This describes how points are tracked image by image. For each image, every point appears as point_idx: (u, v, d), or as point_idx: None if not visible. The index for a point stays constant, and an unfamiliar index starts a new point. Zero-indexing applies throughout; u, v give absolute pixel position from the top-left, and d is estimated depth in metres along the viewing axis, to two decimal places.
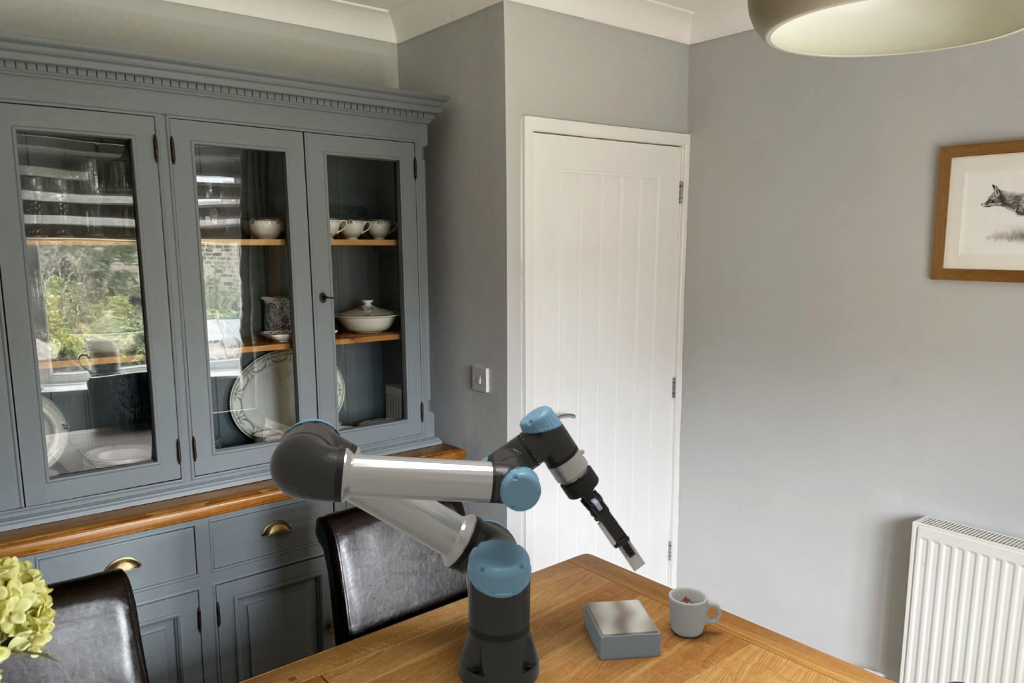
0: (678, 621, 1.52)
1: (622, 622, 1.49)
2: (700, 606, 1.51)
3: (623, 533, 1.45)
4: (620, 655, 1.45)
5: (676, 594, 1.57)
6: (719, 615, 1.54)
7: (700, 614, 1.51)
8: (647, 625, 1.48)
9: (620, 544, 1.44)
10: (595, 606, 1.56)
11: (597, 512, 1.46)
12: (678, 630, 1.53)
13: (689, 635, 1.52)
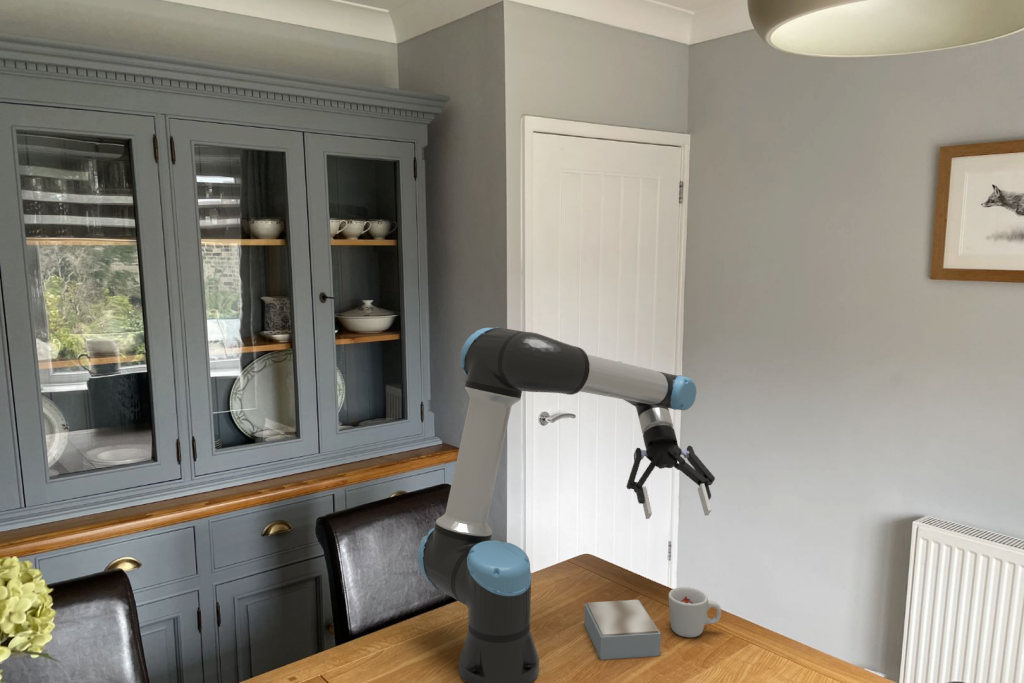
0: (678, 621, 1.52)
1: (622, 622, 1.49)
2: (700, 606, 1.51)
3: None
4: (620, 655, 1.45)
5: (676, 594, 1.57)
6: (719, 615, 1.54)
7: (700, 614, 1.51)
8: (647, 625, 1.48)
9: None
10: (595, 606, 1.56)
11: None
12: (678, 630, 1.53)
13: (689, 635, 1.52)
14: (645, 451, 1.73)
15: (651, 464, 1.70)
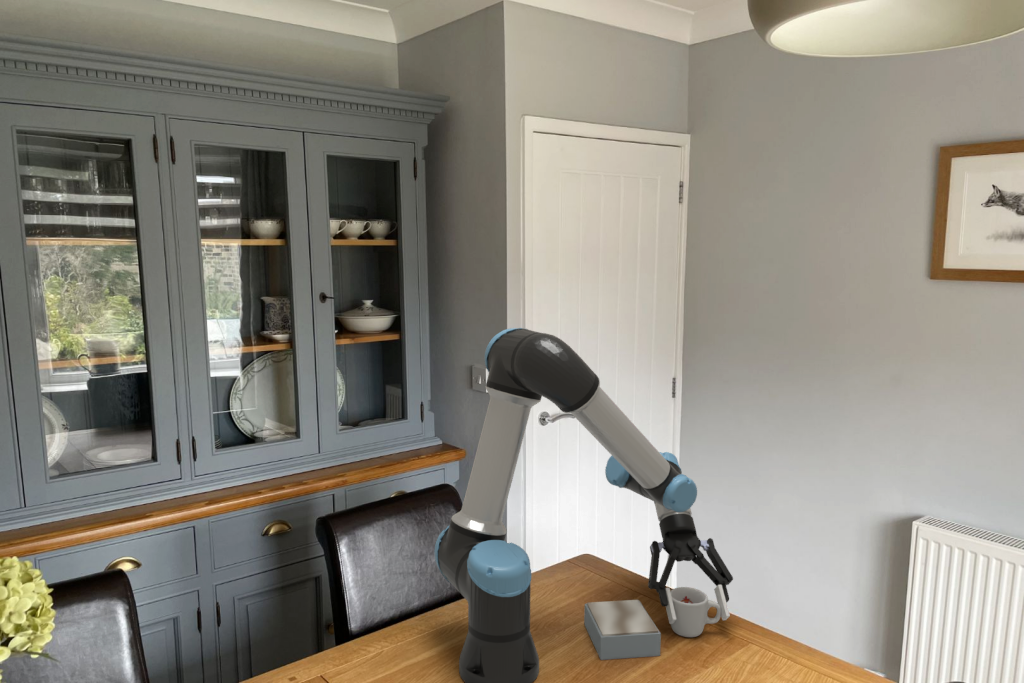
0: (678, 621, 1.52)
1: (622, 622, 1.49)
2: (700, 606, 1.51)
3: None
4: (620, 655, 1.45)
5: (676, 594, 1.57)
6: (719, 615, 1.54)
7: (700, 614, 1.51)
8: (647, 625, 1.48)
9: None
10: (595, 606, 1.56)
11: None
12: (678, 630, 1.53)
13: (689, 635, 1.52)
14: (662, 543, 1.61)
15: (671, 559, 1.58)
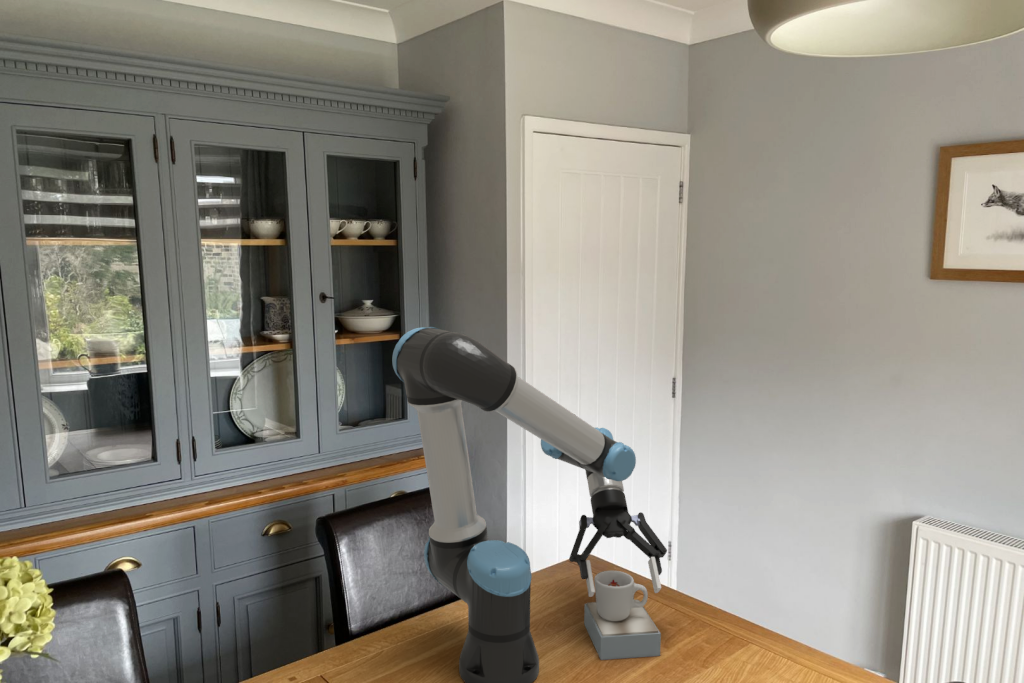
0: (603, 604, 1.49)
1: (622, 622, 1.49)
2: (625, 589, 1.47)
3: None
4: (620, 655, 1.45)
5: (603, 577, 1.53)
6: (645, 598, 1.50)
7: (625, 597, 1.48)
8: (647, 625, 1.48)
9: None
10: (595, 606, 1.56)
11: None
12: (603, 614, 1.49)
13: (614, 619, 1.48)
14: (591, 518, 1.57)
15: (597, 534, 1.54)
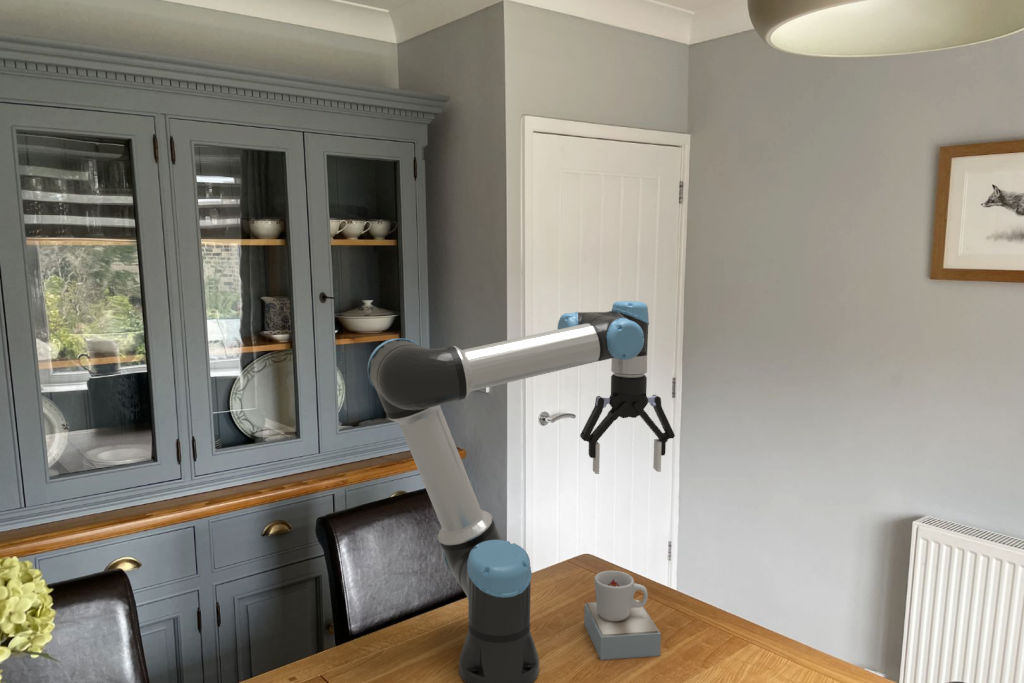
0: (603, 604, 1.49)
1: (622, 622, 1.49)
2: (625, 589, 1.47)
3: None
4: (620, 655, 1.45)
5: (603, 577, 1.53)
6: (645, 598, 1.50)
7: (625, 597, 1.48)
8: (647, 625, 1.48)
9: None
10: (595, 606, 1.56)
11: None
12: (603, 614, 1.49)
13: (614, 619, 1.48)
14: (608, 400, 1.58)
15: (611, 418, 1.57)
